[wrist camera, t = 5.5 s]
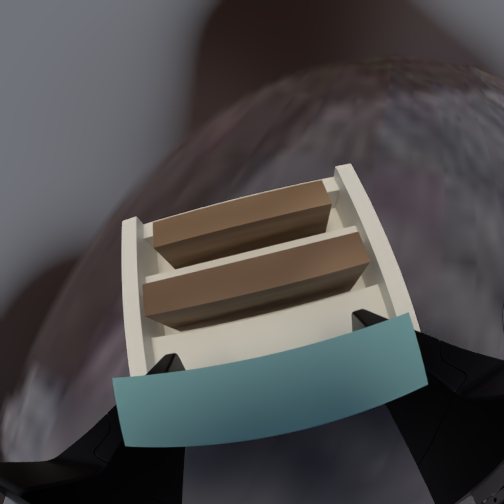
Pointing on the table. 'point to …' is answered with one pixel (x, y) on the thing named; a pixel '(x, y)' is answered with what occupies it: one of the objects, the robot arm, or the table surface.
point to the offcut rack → (274, 323)
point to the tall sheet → (272, 390)
